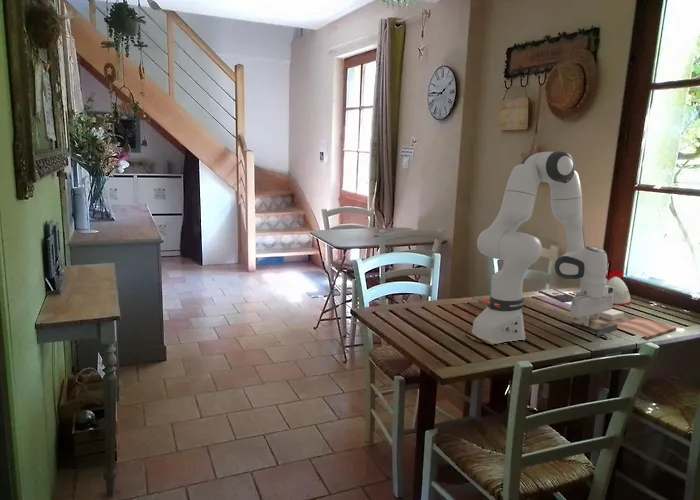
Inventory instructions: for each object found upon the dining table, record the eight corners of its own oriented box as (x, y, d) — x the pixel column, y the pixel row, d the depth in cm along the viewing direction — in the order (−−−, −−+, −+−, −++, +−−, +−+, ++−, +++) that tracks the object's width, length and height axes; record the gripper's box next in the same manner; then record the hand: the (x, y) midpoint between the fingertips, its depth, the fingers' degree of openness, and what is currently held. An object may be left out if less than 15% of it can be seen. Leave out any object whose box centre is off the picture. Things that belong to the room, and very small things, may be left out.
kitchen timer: (637, 305, 226) (640, 271, 223) (610, 308, 223) (612, 274, 220) (614, 296, 239) (616, 265, 236) (588, 299, 236) (590, 267, 233)
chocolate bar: (563, 301, 233) (538, 291, 250) (563, 303, 233) (538, 293, 250) (580, 299, 235) (554, 289, 252) (580, 301, 236) (554, 291, 252)
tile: (612, 320, 205) (612, 315, 204) (596, 315, 211) (596, 310, 210) (623, 317, 208) (624, 312, 208) (607, 312, 214) (608, 307, 214)
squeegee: (567, 326, 203) (567, 316, 202) (584, 321, 207) (584, 312, 207) (599, 337, 191) (600, 326, 190) (616, 332, 195) (617, 321, 195)
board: (647, 339, 187) (647, 336, 187) (579, 318, 211) (579, 316, 211) (676, 330, 196) (676, 327, 196) (608, 310, 220) (608, 308, 220)
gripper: (581, 296, 189) (579, 332, 192) (617, 287, 199) (614, 322, 201) (566, 292, 194) (564, 327, 197) (602, 283, 204) (600, 317, 207)
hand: (590, 324), depth 199 cm, fingers closed on squeegee, 2 cm apart
